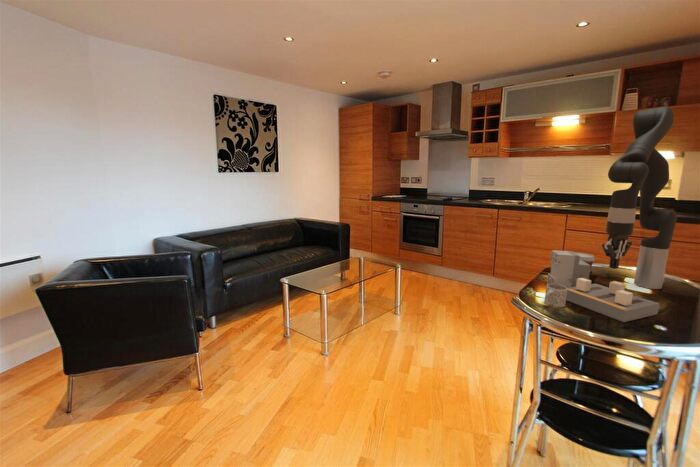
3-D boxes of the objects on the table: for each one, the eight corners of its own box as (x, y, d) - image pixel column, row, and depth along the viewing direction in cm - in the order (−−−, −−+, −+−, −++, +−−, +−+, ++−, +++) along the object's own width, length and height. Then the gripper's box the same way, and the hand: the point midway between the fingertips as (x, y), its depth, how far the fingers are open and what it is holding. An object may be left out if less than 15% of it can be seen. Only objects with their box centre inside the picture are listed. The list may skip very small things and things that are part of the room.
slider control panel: (593, 292, 140) (595, 283, 140) (657, 314, 120) (659, 303, 120) (562, 298, 134) (563, 288, 133) (623, 322, 114) (625, 310, 113)
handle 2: (620, 300, 121) (621, 289, 120) (631, 304, 117) (633, 293, 117) (614, 301, 120) (616, 290, 119) (625, 305, 116) (627, 294, 116)
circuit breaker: (591, 292, 141) (596, 256, 138) (553, 289, 144) (557, 254, 141) (583, 286, 149) (588, 252, 146) (546, 283, 151) (551, 250, 148)
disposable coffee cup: (594, 285, 150) (598, 258, 147) (569, 282, 153) (572, 256, 150) (587, 278, 159) (590, 253, 156) (563, 276, 161) (566, 251, 159)
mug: (550, 299, 133) (552, 282, 132) (568, 305, 128) (571, 288, 127) (535, 304, 128) (537, 287, 127) (553, 310, 123) (556, 293, 122)
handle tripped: (613, 291, 130) (615, 281, 129) (623, 294, 127) (625, 284, 126) (608, 292, 129) (609, 282, 128) (618, 295, 126) (620, 285, 125)
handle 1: (581, 287, 133) (582, 277, 133) (590, 290, 130) (591, 280, 129) (575, 288, 132) (577, 278, 132) (584, 291, 129) (586, 281, 128)
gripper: (621, 217, 127) (614, 263, 130) (597, 220, 122) (590, 267, 125) (644, 220, 120) (637, 268, 123) (619, 223, 115) (612, 273, 118)
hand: (613, 268), depth 124 cm, fingers closed
